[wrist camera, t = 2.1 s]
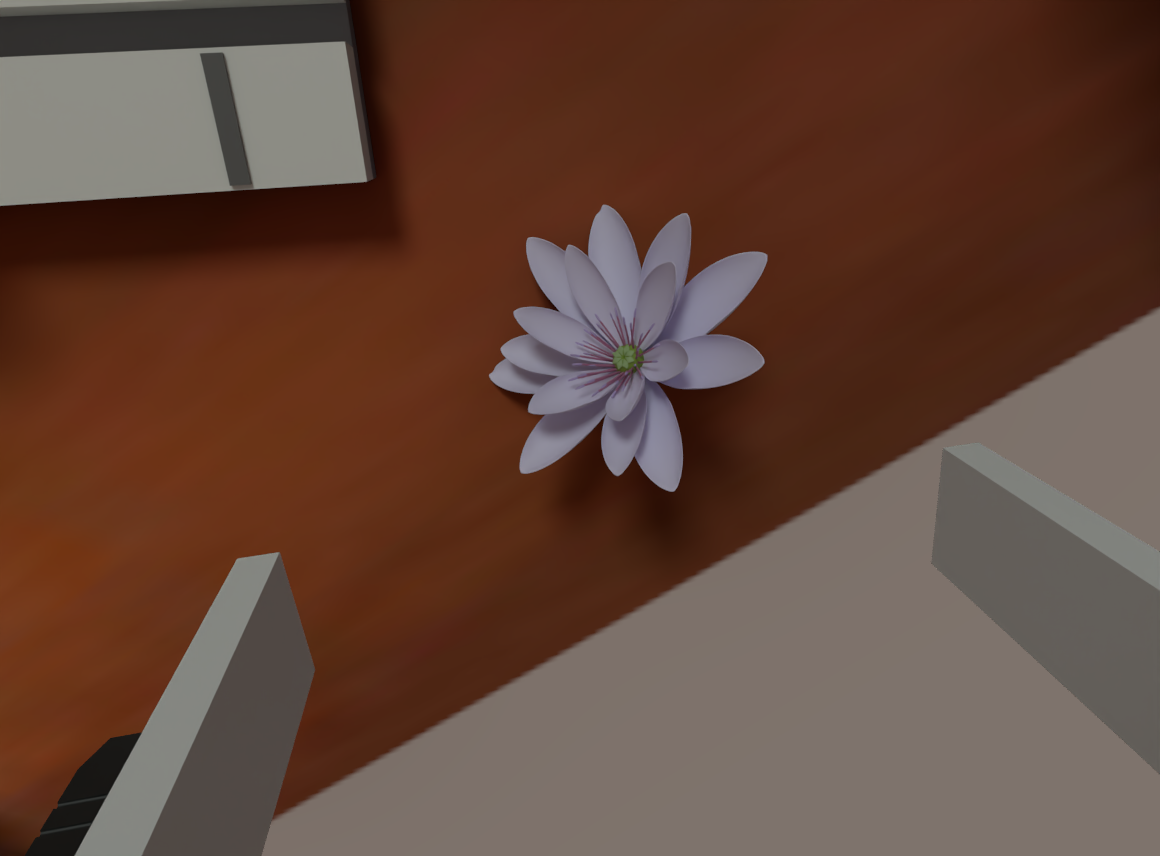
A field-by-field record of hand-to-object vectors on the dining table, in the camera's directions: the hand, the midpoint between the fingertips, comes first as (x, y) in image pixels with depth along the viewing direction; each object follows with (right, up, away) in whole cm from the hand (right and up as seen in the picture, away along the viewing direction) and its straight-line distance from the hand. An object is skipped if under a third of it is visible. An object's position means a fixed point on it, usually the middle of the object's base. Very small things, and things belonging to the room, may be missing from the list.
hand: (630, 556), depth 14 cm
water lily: (0, +9, +23) cm, 24 cm away
